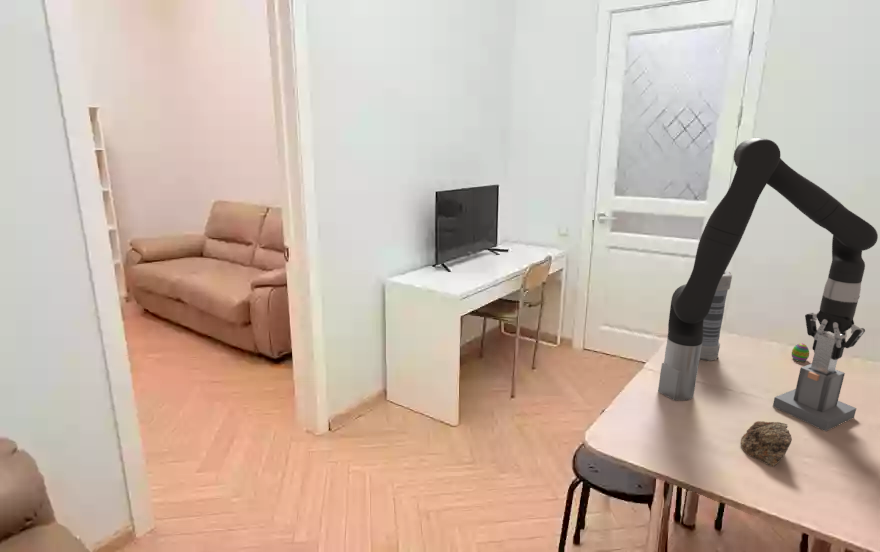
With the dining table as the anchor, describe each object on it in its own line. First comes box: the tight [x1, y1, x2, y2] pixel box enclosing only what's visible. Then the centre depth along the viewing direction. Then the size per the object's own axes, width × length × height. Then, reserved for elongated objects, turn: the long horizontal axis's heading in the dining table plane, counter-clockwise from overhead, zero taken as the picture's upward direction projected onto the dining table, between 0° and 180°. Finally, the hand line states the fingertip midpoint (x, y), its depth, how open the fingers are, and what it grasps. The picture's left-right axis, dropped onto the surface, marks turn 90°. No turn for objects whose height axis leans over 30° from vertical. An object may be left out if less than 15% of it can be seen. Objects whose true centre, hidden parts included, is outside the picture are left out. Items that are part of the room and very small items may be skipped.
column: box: [811, 332, 839, 376], centre depth 145 cm, size 4×4×20 cm
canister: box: [699, 269, 733, 361], centre depth 180 cm, size 10×10×30 cm
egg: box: [791, 342, 810, 363], centre depth 180 cm, size 5×5×6 cm
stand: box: [772, 363, 857, 432], centre depth 147 cm, size 14×14×13 cm
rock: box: [740, 420, 793, 467], centre depth 131 cm, size 14×9×10 cm
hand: (826, 355), depth 144 cm, fingers closed on column, 4 cm apart
